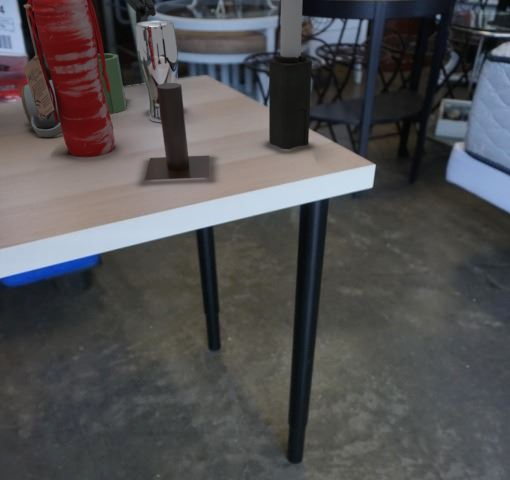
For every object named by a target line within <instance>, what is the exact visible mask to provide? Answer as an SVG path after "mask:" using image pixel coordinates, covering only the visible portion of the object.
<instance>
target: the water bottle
mask: <svg viewBox="0 0 510 480" xmlns="http://www.w3.org/2000/svg"><path fill="white" fill-rule="evenodd" d="M23 8H25V14H26V20H27V24H28V29H29V33H30V38H31V42H32V46H33V50H34V54H35V55H34V56H33V57H32V58H31V59H30V60H29V61H28V62H27V63H26V64H25V65H24V66H23V72H24V75H25V78H26V81H27V84H29V87H30V91H31V94H32V97H33V100H34V103H35V106H36V109H37V113H38V116H39V119H40V121H41V120H42V119H43V118H45V117H47V120H49V118H50V116H51V114H52V113H53V114H54V118H55V121H56V122H58V117H57V111H56V102H57V108H58V113H59V119H60V124H61V129H62V133H61V134H62V136H63V141H64V144H65V146H66V148H67V150H68V151H69V153H70V154H71V155H72V156H76V157H82V158H83V157H85V158H90V157H91V158H92V157H98V156H102V155H105V154H108V153H110V152H112V151H113V149H114V148H115V144H116V140H115V133H114V127H113V122H112V118H111V113H109V109H108V106H107V102H106V98H105V94H104V90H103V85H102V80H101V74H100V69H99V60H98V54H100V58H101V63H102V69H103V72H102V75H103V77H104V79H105V83H106V88H107V92H111V91H110V83H109V79H108V76H107V74H106V72H105V68H106V62H105V57H104V53H105V52H104V46H103V45H104V44H103V39H102V34H101V31H100V27H99V22H98V18H97V14H96V10H95V7H94V4H93V2H92V0H27V3H25V4H23ZM36 30H37V31H36ZM43 56H44V58H45V61H46V64H47V67H48V71H49V75H50V79H49V77H48V75H47V71H46V68H45V64H44V61H43ZM49 80H52V83H53V87H54V91H55V95H54V93H53V90H52V87H51V84H50V82H49ZM50 91H51V92H50ZM51 94H52V96H51ZM52 97H53V100H52ZM55 97H56V102H55Z"/></svg>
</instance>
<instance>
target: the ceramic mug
mask: <svg viewBox="0 0 510 480" xmlns="http://www.w3.org/2000/svg"><path fill="white" fill-rule="evenodd" d="M48 80H49V82H50V84H51V87H52V90H53V93H54V95H55V91H54V87H53V83H52V79H48ZM50 92H51V91H50ZM20 96H21V97H20V98H21V104H22V108H23V111H24V115H25V117H26V119H27V121H28V123H29V124H30V125H31V127H32V128H33V131H34V132H35V134H36V135H38V136H39V137H42V138H54V137H57V136H59V135H61V134H63V133H62V129H61V124H60V119H59V113H58V108H57V102H56V97H55V102H56V111H57V117H58V122H56V121H55V118H54V114H53V113H52V114H51V116H50V118H49V120H47V117H45V118H43V119H42V120H41V121H40V119H39V116H38V113H37V109H36V106H35V103H34V100H33V97H32V94H31V91H30V87H29V84H28V83H27V84H25V85H23V86H22V88H21V93H20ZM51 96H52V94H51ZM52 100H53V97H52Z"/></svg>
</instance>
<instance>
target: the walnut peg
mask: <svg viewBox="0 0 510 480" xmlns="http://www.w3.org/2000/svg"><path fill="white" fill-rule="evenodd" d="M157 92H158V100H159V108H160V115H161V122H160V123H161V130H162V138H163V146H164V147H163V148H164V154H165V156H162V157H161V156H160V157H150V158H149V161H148V163H147V164H148V165H147V168H146V172H145V176H144V181H162V180H165V181H166V180H186V179H208V178H210V161H211V160H210V158H211V157H210V155H190V156H189V150H188V149H189V148H188V139H187V129H186V119H185V118H186V117H185V110H184V100H183V88H182V84H181V83H164V84H160V85H158V86H157Z"/></svg>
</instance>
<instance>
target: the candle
mask: <svg viewBox="0 0 510 480" xmlns="http://www.w3.org/2000/svg"><path fill="white" fill-rule="evenodd" d="M302 22H303V0H280V51H279V52H278V53H275V54H274V58H270V59H269V60H268V80H269V81H268V96H269V97H268V102H269V103H268V109H269V110H268V120H269V121H268V129H269V131H268V134H269V135H268V138H269V140H268V141H269V142H268V143H269V144H271V145H273V146H274V147H277V148H280V149H282V150H291V149H294V148H297V147H302V146H306V145H309V138H310V137H309V136H310V118H311V117H310V114H311V95H312V94H311V93H312V71H313V67H312V66H313V60H312V59H309V58H308V57H307V53H306V52H305V53H304V52H302V26H303V24H302Z"/></svg>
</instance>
